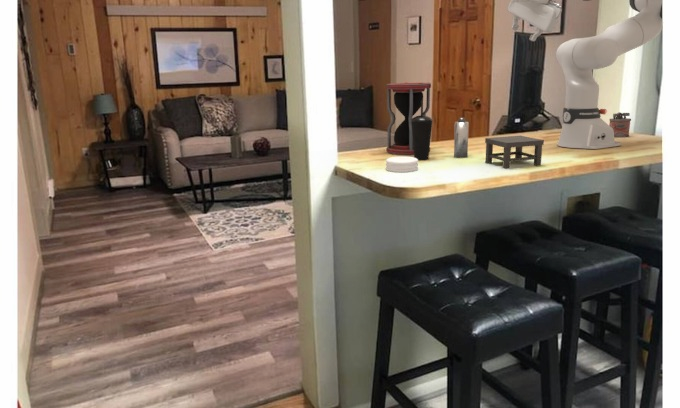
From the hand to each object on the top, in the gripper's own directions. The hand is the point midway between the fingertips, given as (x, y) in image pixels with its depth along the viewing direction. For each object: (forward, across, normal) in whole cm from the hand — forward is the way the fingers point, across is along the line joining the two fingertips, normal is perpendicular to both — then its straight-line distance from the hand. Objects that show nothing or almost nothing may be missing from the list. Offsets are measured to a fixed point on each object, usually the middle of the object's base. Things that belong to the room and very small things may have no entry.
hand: (522, 34), depth 183 cm
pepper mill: (+39, -17, +23) cm, 48 cm away
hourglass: (+48, +1, +30) cm, 57 cm away
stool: (+30, -35, +20) cm, 50 cm away
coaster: (+39, -23, +52) cm, 69 cm away
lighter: (+30, -20, -58) cm, 68 cm away
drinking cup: (+42, -13, +36) cm, 57 cm away
